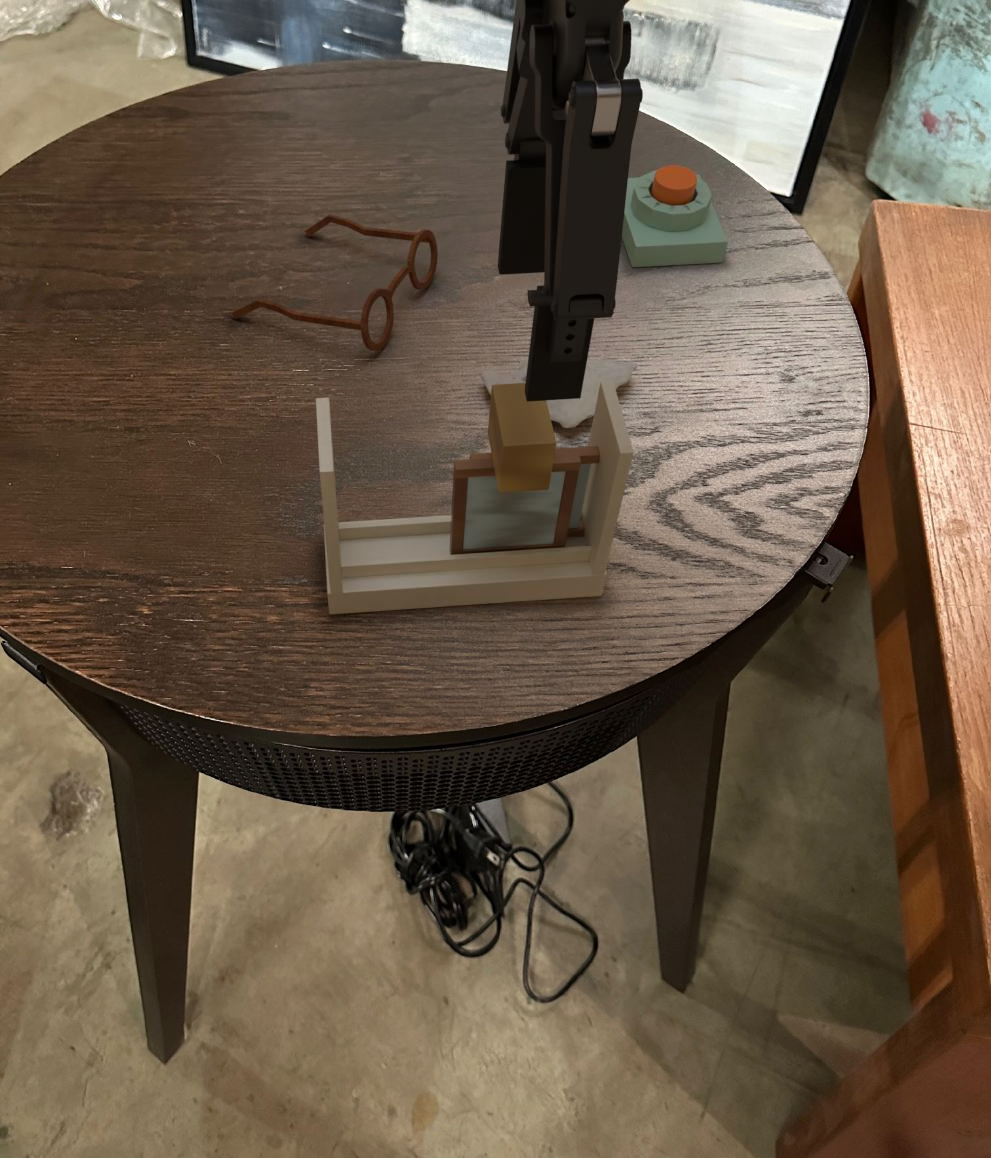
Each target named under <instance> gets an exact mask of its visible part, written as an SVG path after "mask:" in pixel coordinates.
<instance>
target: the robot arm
mask: <svg viewBox="0 0 991 1158" xmlns="http://www.w3.org/2000/svg"><path fill="white" fill-rule="evenodd" d="M630 1H631V0H515V8H514V14H513V15H514V16H513V23H512V29H511V30H512V31H511V36H510V37H511V39H510V46H509V52H508V61H507V67H506V68H507V69H506V75H505V84H504V90H503V99H502V105H501V106H500V116H501V117H502V121H503V124H505V125H506V124H508V126H507V132H505V133H506V134H505V137H504V147H505V149H506V152H507V155H508V156H512V155H513V156H514V158H513V160H512V159H511V160H510V159H509V160H505V170H504V183H503V196H502V206H501V207H502V208H501V218H500V219H501V220H500V231H499V232H500V233H499V242H498V243H499V244H498V257H497V270H498V271H497V272H498V275H499V276H502V275H503V276H504V275H522V274H523V275H524V274H541V273H543V285H541V284H540V285H536V289H528V290H527V302H528V306H529V307H530V308H531V307H534V308H533V316H532V323H531V324H532V325H531V326H532V327H531V335H530V342H529V349H528V356H529V358H528V366H527V375H526V383H525V396H526V400H527V402H529V401H546V400H562V399H579V398H581V392H582V387H583V381H584V375H585V369H586V364H587V360H588V357H589V353H590V347H591V341H592V335H593V329H594V323H595V319H610V318H612V317H613V315H614V312H615V309H616V294H617V283H618V274H619V266H620V255H621V249H622V248H621V247H622V240H623V239H622V229H623V220H624V211H625V201H626V192H627V183H628V178H629V172H630V163H631V155H632V154H631V153H632V144H633V140H634V136H635V131H636V127H637V126H636V125H637V123H638V116H639V111H640V108H641V103H642V101H643V98H644V92H643V88H642V85H641V80H640V79H639V78H625V76H624V75H625V71H626V69H627V67H628V66H629V64H630V61H631V57H632V35H633V34H632V24H631V22H630V21H629V20H624V19H625V14H624V9H625V6H626V5H627V4H628V3H629V2H630Z"/></svg>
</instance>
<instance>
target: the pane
mask: <svg viewBox="0 0 991 1158" xmlns="http://www.w3.org/2000/svg"><path fill="white" fill-rule="evenodd" d="M488 412H489V416H488V423H487V424H488V425H487V436H488V442H489V448H490V453H491V454H492V458H485V459H470V458H469V459H458V460H457V459H455V460H454V461H453V473H452V475H453V476H452V492H451V493H452V494H451V495H452V496H451V512H450V515H451V530H450V548H449V551H450V555H457V554H472V553H487V552H502V551H517V550H532V549H547V548H562V547H565V543H566V538H567V533H568V528H569V522H570V517H571V512H572V506H573V501H574V496H575V490H576V485H577V480H578V474H579V469H580V464H581V460H580V456H579V453H565V454H555V448H557V440H556V435H555V431H554V427H553V423H552V422H553V421H552V420H551V418H550V414H549V409H548V405H547V401H529V402H527V400H526V396H525V383H515V384H498V385H492V389H491V396H490V401H489V411H488Z"/></svg>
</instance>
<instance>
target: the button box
mask: <svg viewBox="0 0 991 1158" xmlns="http://www.w3.org/2000/svg"><path fill="white" fill-rule="evenodd" d="M657 170H658V169H655V170H652V171H649V172H648V173H646V174H644V175H641V176H640V177H628V183H627V192H626V201H625V211H624V220H623V229H622V239H621V240H622V241H623V245H624V248H625V251H626V254H627V257H628V259H629V263H630V266H631V268H645V267H646V268H647V267H664V266H665V267H666V266H685V265H702V264H703V265H704V264H720V263H721V264H722V263H723V261H724V259H725V254H726V250H727V247H728V244H729V241H728V238H727V236H726V234H725V231H724V228H723V227H722V226H723V225H722V224H721V222H720V219H719V217H718V214H717V211H716V210H715V207H714V205H713V203H712V198H713V194H712V192H711V189H710V187H709V185H708V183H707V182H706V181H704V180H703V179H702V177H701V175H700V174H696V176H697V183H696V188H695V192H694V196H693V199H692V201H691V202H690V203H688V204H686V205H677V206H671V205H667V204H664V203H660V202H658V201H657V200H656V199H654V198H653V197H652V194H651V191H652V186H653V181H654V177H655V173H656V171H657Z"/></svg>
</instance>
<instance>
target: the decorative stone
mask: <svg viewBox="0 0 991 1158" xmlns="http://www.w3.org/2000/svg"><path fill="white" fill-rule="evenodd" d="M528 358H529V355H528V356H525V357H523V358H522V359H520V360H519V361H518V362H519V365H518V366H519V367H518V370H516V371H514V372H510V373H501V372H498V371H495V370H492V369H486V370H484V371H482V373H481V375H480V378H481V381H482V383H483V384H484V385H485V388H486V390H487V391H488V394H489V396H490V397H491V389H492V385H498V384H515V383H526V375H527V366H528ZM637 369H638V363H636V362H621V361H617V360H608V359H587V364H586V369H585V375H584V381H583V387H582V392H581V398H579V399H562V400H546V401H547V405H548V409H549V414H550V418H551V422H556V423H558V424H560V425H561V427H562V428H564V429H569V428H570V429H571V428H576V427H577V426H578V425H580V424H581V423H582V422H584V421H585V420H586V419H590V418H592V417H593V418H594V413H595V408H596V403H597V397H598V392H599V387H600V382H601V381H613V382H614V386H615V389H616V390H617V389H618V388H619V387H621V386H623V385H626V384H627V383H628V382H630V380H631V379H632V376H633V373H634V372H635V371H636V370H637Z"/></svg>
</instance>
